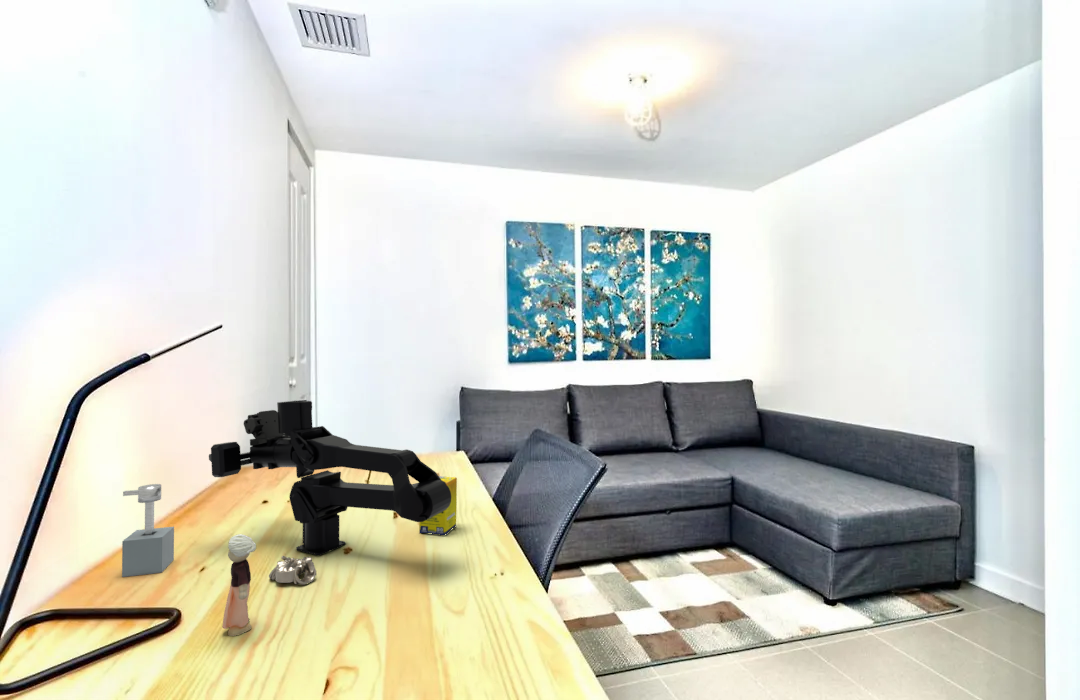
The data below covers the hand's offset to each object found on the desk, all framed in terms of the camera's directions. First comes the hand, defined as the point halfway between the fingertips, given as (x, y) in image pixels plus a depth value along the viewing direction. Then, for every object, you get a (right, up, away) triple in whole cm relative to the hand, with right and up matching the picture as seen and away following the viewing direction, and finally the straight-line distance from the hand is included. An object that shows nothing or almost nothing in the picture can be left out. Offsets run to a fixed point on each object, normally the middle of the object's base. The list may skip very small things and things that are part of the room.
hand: (230, 452), depth 106 cm
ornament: (+25, -17, -23) cm, 37 cm away
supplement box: (+44, -17, 0) cm, 47 cm away
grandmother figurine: (+25, -16, -38) cm, 48 cm away
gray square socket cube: (-3, -16, -19) cm, 25 cm away
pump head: (-4, -11, -19) cm, 22 cm away
